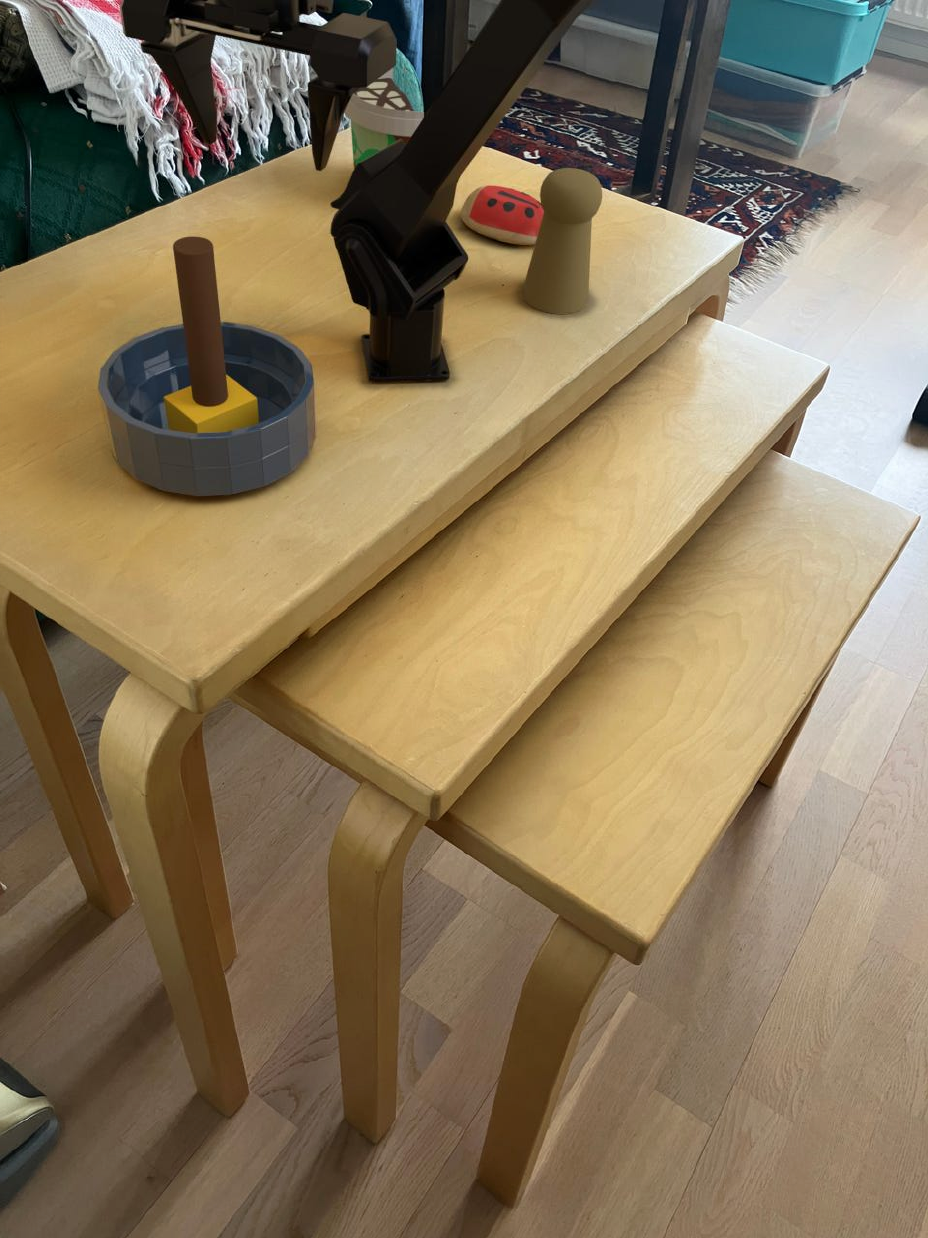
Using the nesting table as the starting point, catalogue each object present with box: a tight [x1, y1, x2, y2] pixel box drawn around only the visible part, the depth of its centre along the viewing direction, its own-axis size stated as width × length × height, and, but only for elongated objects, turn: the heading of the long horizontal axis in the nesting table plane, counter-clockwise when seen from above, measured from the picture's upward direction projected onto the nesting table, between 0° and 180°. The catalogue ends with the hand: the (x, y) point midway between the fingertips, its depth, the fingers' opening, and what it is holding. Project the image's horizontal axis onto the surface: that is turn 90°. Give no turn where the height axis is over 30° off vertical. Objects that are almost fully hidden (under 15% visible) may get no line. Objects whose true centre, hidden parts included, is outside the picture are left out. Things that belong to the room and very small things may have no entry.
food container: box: [344, 68, 425, 170], centre depth 100 cm, size 12×6×10 cm, turn 17°
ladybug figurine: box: [460, 184, 544, 246], centre depth 99 cm, size 7×10×4 cm
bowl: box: [97, 321, 317, 497], centre depth 71 cm, size 14×14×6 cm
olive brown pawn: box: [521, 167, 603, 315], centre depth 88 cm, size 6×6×11 cm
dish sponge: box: [164, 235, 259, 433], centre depth 68 cm, size 5×4×14 cm
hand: (265, 155), depth 77 cm, fingers open, 9 cm apart
